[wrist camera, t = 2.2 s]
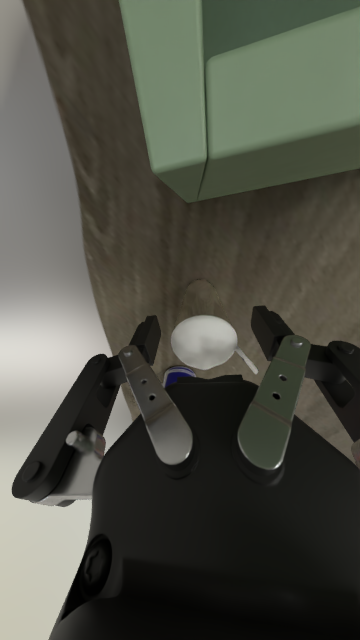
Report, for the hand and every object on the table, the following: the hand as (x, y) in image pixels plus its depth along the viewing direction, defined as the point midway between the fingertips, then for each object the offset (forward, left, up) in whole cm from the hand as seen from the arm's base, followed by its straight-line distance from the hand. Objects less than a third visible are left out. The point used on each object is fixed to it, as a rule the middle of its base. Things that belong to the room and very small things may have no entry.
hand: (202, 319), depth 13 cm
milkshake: (0, 0, -5) cm, 5 cm away
